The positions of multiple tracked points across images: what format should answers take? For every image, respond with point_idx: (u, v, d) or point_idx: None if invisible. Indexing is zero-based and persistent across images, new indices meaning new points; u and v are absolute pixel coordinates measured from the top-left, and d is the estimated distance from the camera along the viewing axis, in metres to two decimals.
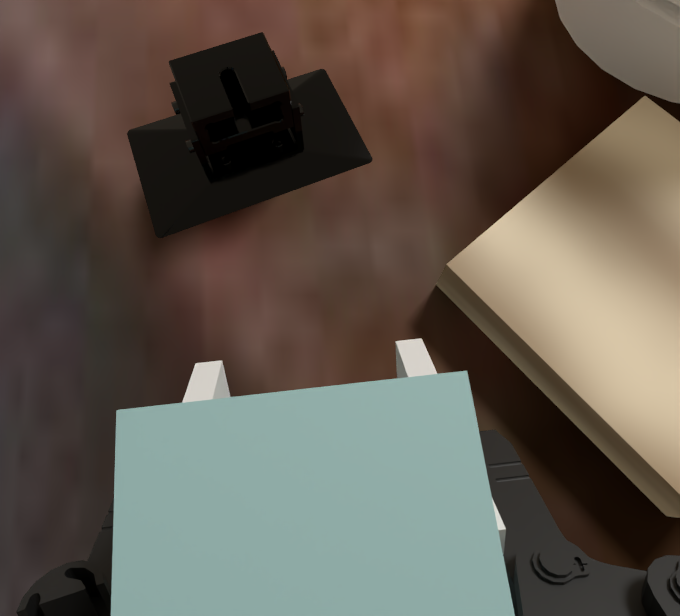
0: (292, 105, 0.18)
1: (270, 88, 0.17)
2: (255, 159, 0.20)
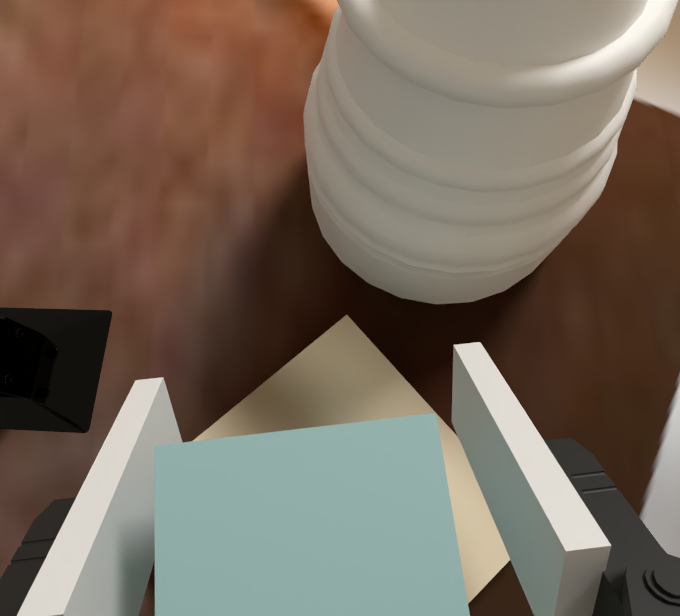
0: None
1: None
2: None
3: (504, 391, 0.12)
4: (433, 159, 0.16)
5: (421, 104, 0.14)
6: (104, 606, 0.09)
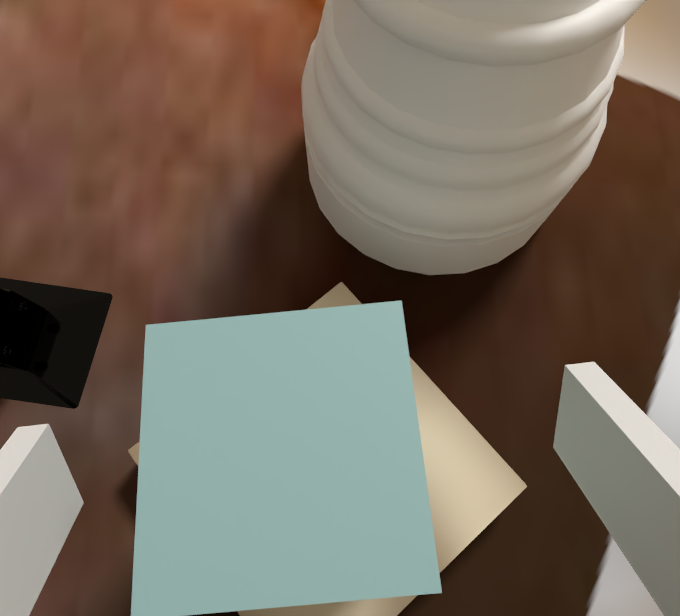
0: None
1: None
2: None
3: (643, 421, 0.11)
4: (424, 121, 0.16)
5: (413, 64, 0.15)
6: None
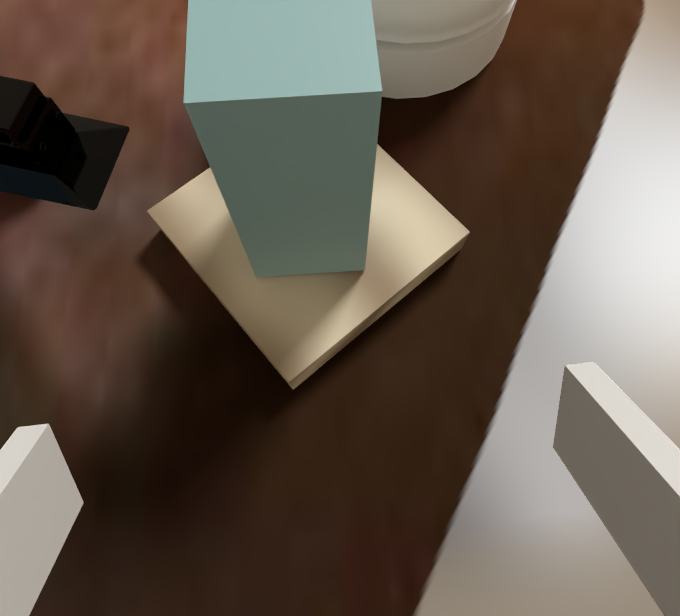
0: (21, 141, 0.24)
1: None
2: (19, 162, 0.27)
3: (643, 421, 0.11)
4: None
5: None
6: None
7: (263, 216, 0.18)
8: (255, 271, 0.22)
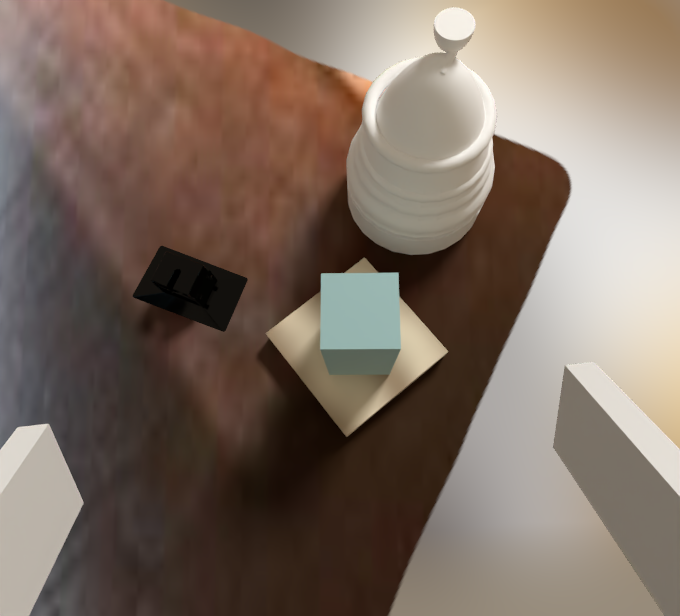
0: (192, 297, 0.43)
1: (183, 288, 0.42)
2: (183, 297, 0.45)
3: (643, 421, 0.11)
4: (401, 189, 0.38)
5: (395, 169, 0.37)
6: None
7: (341, 364, 0.36)
8: (330, 373, 0.41)
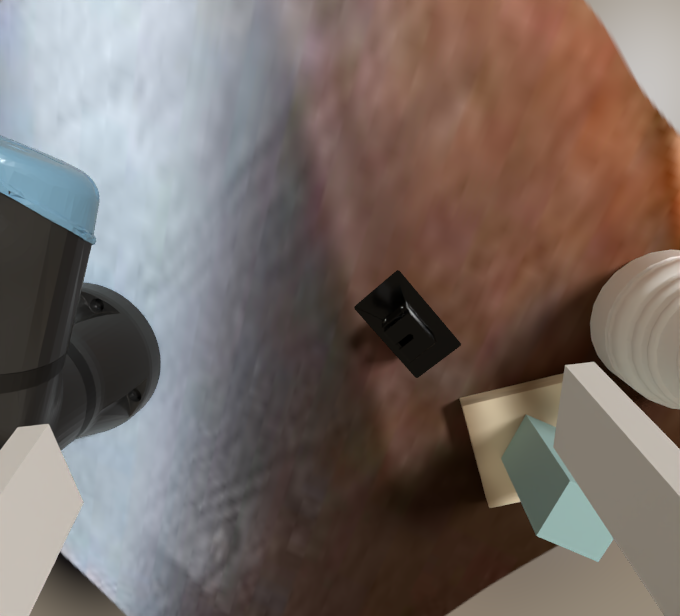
0: None
1: (408, 355, 0.44)
2: None
3: (643, 421, 0.11)
4: (669, 392, 0.38)
5: None
6: None
7: None
8: (503, 462, 0.47)
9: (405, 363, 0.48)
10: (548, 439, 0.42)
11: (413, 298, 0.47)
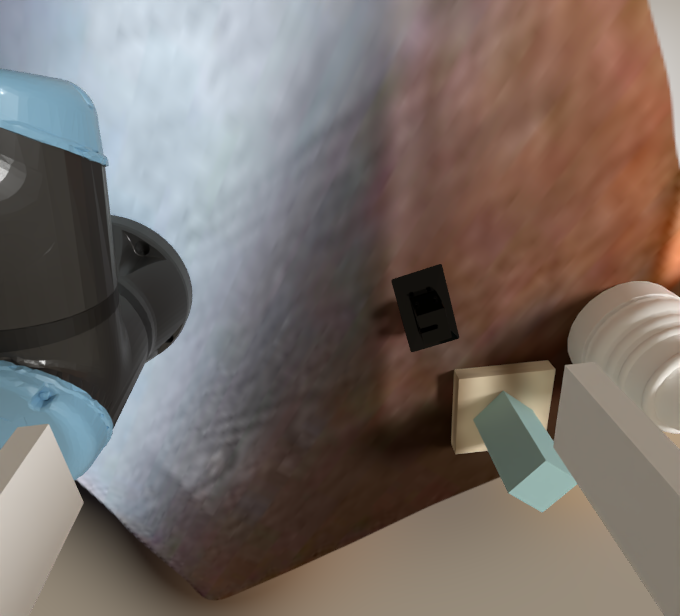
0: (423, 341, 0.52)
1: (426, 340, 0.50)
2: (416, 315, 0.53)
3: (643, 421, 0.11)
4: None
5: (638, 400, 0.48)
6: None
7: None
8: (475, 423, 0.58)
9: (409, 337, 0.55)
10: (522, 418, 0.53)
11: (442, 290, 0.52)
